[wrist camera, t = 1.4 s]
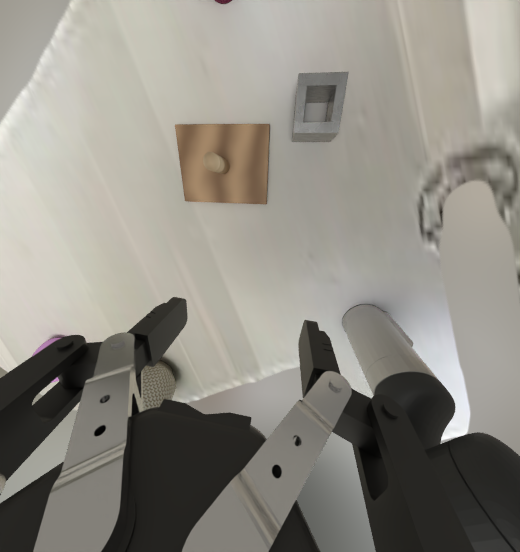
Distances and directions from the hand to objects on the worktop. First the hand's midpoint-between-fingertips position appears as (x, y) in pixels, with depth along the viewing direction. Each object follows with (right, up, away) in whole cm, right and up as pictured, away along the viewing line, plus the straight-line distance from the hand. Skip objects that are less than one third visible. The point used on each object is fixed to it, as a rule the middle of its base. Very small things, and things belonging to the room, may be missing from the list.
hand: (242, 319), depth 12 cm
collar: (+10, +28, +17) cm, 34 cm away
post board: (-5, +23, +21) cm, 32 cm away
